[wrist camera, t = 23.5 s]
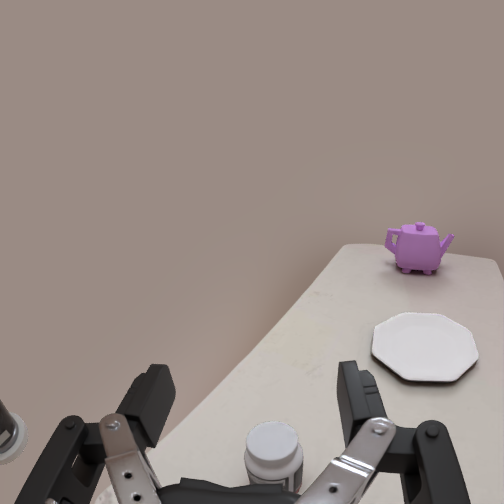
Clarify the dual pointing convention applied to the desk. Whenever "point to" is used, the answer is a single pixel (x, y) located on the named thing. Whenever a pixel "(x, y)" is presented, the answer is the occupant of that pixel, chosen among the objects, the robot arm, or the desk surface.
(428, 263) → the teapot
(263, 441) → the pill bottle
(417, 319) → the plate
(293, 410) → the desk surface
